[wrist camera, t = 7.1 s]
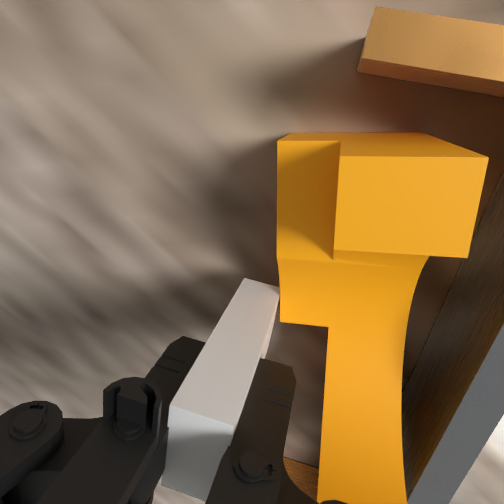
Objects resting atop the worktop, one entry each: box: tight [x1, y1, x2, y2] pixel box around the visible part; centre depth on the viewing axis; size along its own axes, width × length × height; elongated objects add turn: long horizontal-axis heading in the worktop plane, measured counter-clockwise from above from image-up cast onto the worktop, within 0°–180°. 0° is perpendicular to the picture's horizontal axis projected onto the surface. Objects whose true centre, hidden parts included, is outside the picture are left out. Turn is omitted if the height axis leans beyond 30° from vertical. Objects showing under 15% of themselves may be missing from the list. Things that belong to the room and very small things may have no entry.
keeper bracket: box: [283, 7, 504, 504], centre depth 13 cm, size 7×20×4 cm, turn 170°
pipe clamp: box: [277, 132, 489, 504], centre depth 12 cm, size 12×4×6 cm, turn 1°
